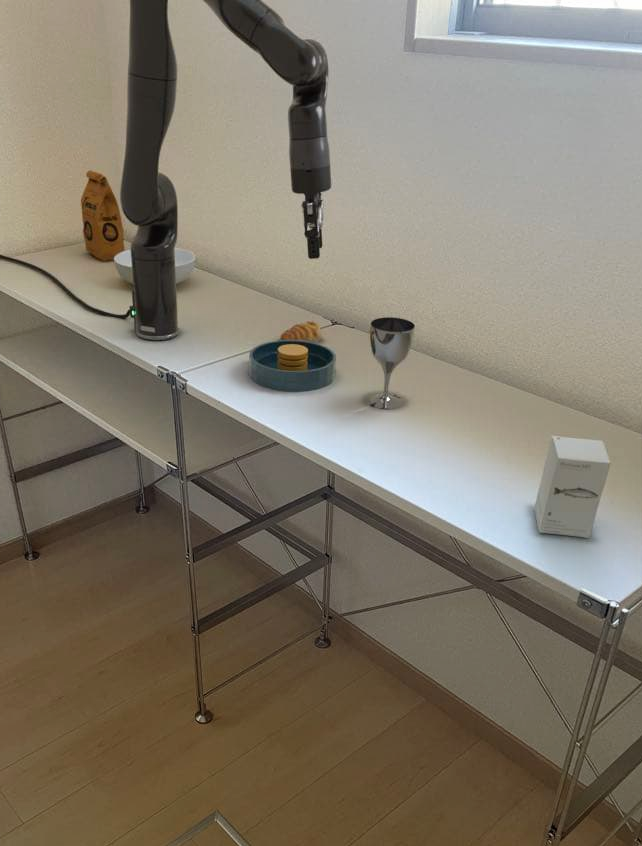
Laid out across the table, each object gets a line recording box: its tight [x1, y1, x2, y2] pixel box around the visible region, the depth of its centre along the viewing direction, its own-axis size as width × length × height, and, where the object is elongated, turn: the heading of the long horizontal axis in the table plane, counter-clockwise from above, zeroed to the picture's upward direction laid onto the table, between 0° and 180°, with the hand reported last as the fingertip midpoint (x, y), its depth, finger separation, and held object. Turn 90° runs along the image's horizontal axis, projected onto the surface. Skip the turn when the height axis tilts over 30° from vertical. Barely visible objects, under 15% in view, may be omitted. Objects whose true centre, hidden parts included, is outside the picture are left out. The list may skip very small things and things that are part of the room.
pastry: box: [280, 321, 324, 343], centre depth 182 cm, size 9×7×4 cm
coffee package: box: [80, 170, 125, 262], centre depth 231 cm, size 10×12×22 cm
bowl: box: [248, 339, 337, 393], centre depth 165 cm, size 17×17×4 cm
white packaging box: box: [533, 435, 612, 539], centre depth 119 cm, size 7×7×13 cm
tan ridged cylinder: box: [277, 344, 308, 371], centre depth 165 cm, size 6×6×5 cm
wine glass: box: [369, 316, 416, 410], centre depth 154 cm, size 8×8×15 cm
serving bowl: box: [113, 247, 196, 285], centre depth 215 cm, size 21×21×7 cm
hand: (315, 253), depth 163 cm, fingers open, 8 cm apart
